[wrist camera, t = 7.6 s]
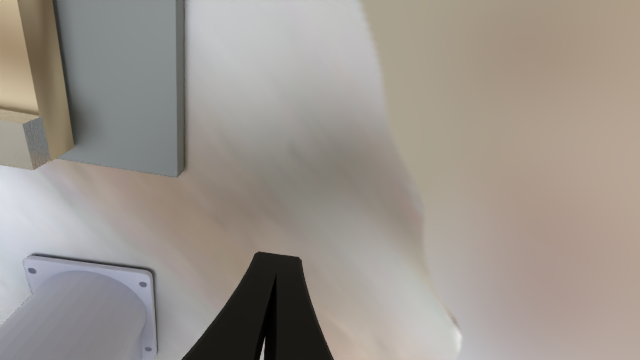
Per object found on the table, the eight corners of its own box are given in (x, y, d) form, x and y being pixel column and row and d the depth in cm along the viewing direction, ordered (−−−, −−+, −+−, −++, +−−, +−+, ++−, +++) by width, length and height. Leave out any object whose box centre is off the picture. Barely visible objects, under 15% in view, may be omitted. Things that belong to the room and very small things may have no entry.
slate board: (183, 169, 19) (177, 177, 18) (-25, 136, 17) (-44, 142, 16) (183, -158, 12) (173, -171, 11) (-147, -247, 11) (-188, -269, 10)
